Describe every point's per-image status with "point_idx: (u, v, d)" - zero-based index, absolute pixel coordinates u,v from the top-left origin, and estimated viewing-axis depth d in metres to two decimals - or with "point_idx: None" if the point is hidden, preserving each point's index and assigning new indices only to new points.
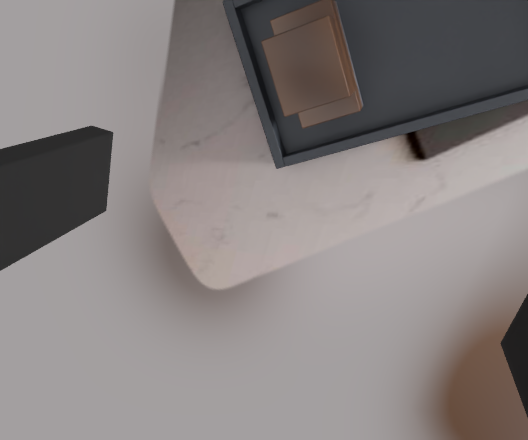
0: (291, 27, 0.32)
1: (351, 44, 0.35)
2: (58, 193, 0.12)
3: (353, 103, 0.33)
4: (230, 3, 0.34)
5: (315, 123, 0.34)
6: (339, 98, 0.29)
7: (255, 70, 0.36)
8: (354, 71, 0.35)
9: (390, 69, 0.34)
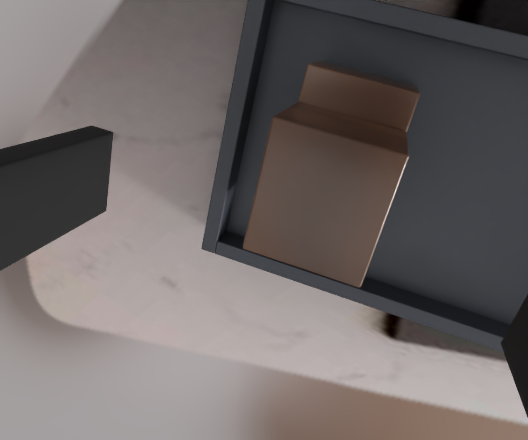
0: (334, 97, 0.18)
1: None
2: (58, 193, 0.12)
3: None
4: None
5: None
6: (342, 280, 0.16)
7: (245, 107, 0.21)
8: None
9: (426, 220, 0.22)
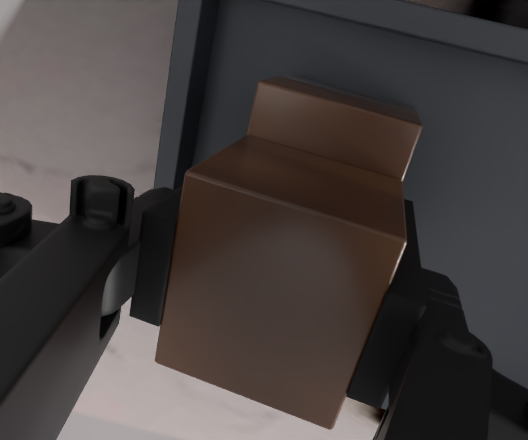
0: (297, 129, 0.12)
1: None
2: None
3: None
4: None
5: None
6: (304, 418, 0.10)
7: (184, 136, 0.16)
8: None
9: None
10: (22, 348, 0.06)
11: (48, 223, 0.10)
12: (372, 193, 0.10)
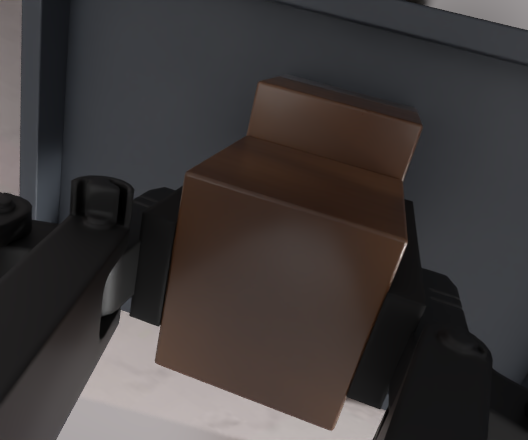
0: (297, 129, 0.12)
1: None
2: None
3: None
4: None
5: None
6: (305, 419, 0.10)
7: (44, 91, 0.17)
8: None
9: None
10: (22, 348, 0.06)
11: (48, 223, 0.10)
12: (372, 193, 0.10)
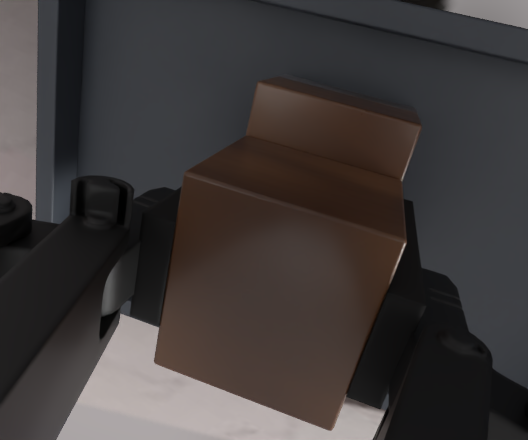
0: (296, 129, 0.12)
1: None
2: None
3: None
4: None
5: None
6: (304, 419, 0.10)
7: (60, 103, 0.17)
8: None
9: None
10: (22, 350, 0.06)
11: (48, 223, 0.10)
12: (371, 193, 0.10)
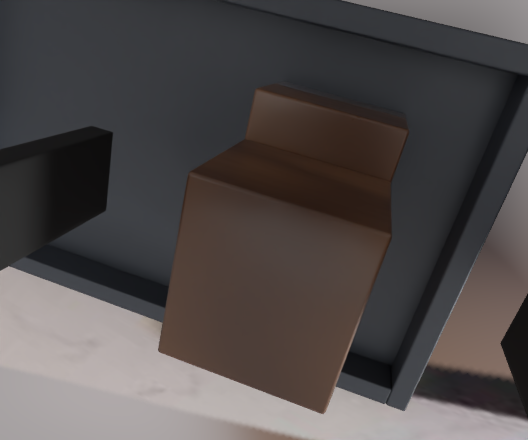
0: (292, 133, 0.13)
1: (142, 131, 0.18)
2: (58, 193, 0.12)
3: None
4: None
5: None
6: (298, 403, 0.11)
7: None
8: None
9: None
10: None
11: None
12: (361, 193, 0.11)
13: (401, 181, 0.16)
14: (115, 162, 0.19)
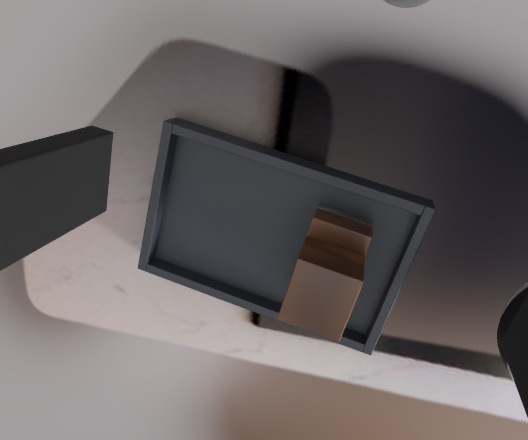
0: (326, 235, 0.33)
1: (249, 219, 0.38)
2: (58, 193, 0.12)
3: None
4: (169, 127, 0.35)
5: None
6: (329, 338, 0.31)
7: (162, 188, 0.38)
8: None
9: (266, 255, 0.39)
10: None
11: None
12: (354, 263, 0.31)
13: (371, 249, 0.36)
14: (233, 232, 0.39)
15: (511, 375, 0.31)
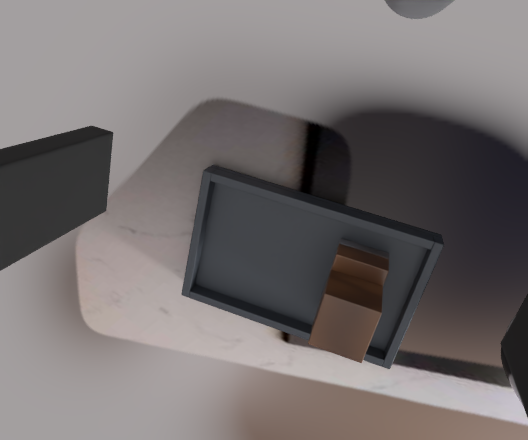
0: (348, 269, 0.38)
1: (279, 251, 0.43)
2: (58, 193, 0.12)
3: None
4: (208, 176, 0.41)
5: None
6: (353, 359, 0.36)
7: (202, 226, 0.43)
8: None
9: (295, 282, 0.44)
10: None
11: None
12: (373, 295, 0.36)
13: (388, 277, 0.41)
14: (264, 262, 0.44)
15: (513, 389, 0.36)
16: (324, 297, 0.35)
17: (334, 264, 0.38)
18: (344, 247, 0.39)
